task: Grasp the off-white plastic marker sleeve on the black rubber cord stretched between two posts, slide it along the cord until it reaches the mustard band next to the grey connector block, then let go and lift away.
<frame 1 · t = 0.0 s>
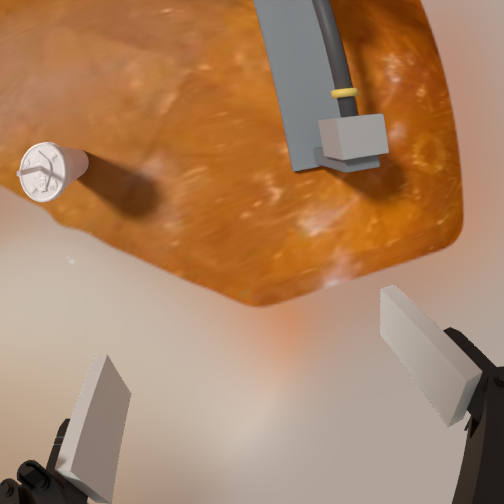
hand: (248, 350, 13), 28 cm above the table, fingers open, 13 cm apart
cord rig: (305, 51, 33), on the table
smoothie: (77, 162, 35), on the table
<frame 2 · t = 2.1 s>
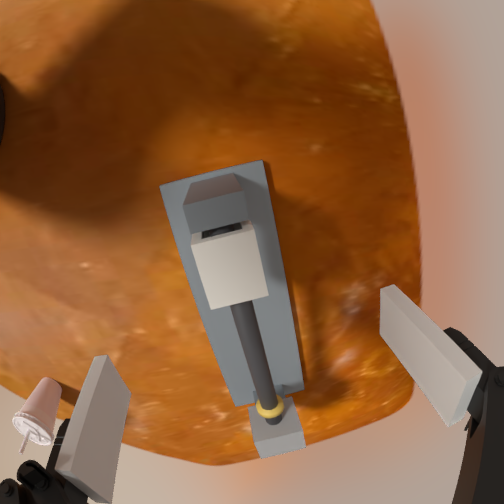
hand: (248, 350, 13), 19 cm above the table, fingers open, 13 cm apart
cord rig: (245, 307, 35), on the table
smoothie: (51, 385, 36), on the table
sleeve: (229, 259, 23), point 9 cm above the table, slide at 0.0 cm
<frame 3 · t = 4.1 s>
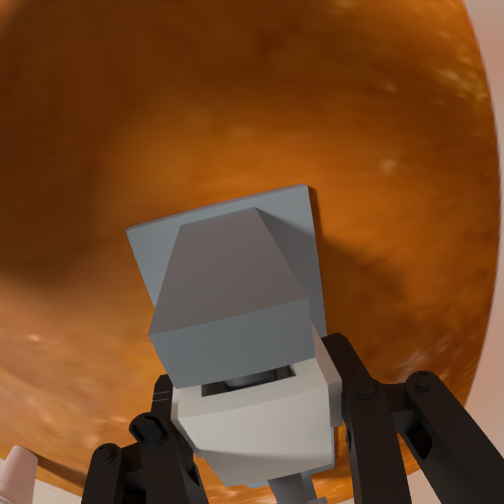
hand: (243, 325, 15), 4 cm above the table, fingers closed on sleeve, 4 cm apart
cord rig: (267, 397, 23), on the table
smoothie: (26, 452, 24), on the table
sleeve: (258, 404, 10), point 9 cm above the table, slide at 0.0 cm, touching gripper
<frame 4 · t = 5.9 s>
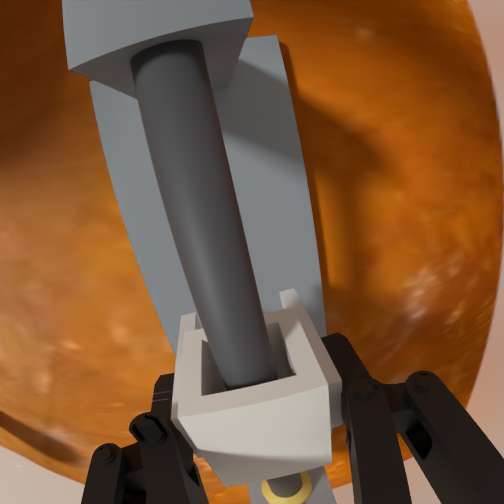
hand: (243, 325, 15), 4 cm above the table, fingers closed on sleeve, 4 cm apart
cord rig: (243, 311, 19), on the table
sleeve: (258, 403, 10), point 9 cm above the table, slide at 8.5 cm, touching gripper
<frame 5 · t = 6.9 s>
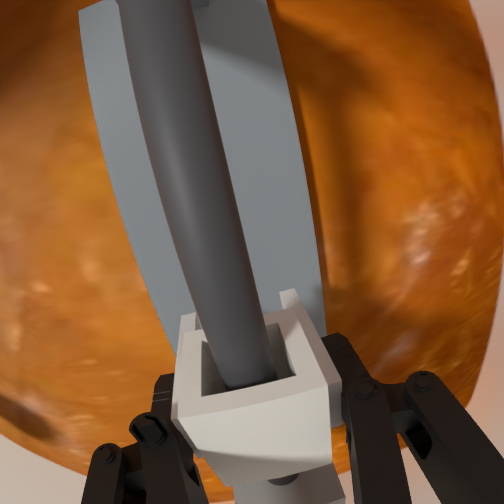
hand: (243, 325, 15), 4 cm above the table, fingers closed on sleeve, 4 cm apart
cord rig: (224, 239, 18), on the table
sleeve: (258, 404, 10), point 9 cm above the table, slide at 13.4 cm, touching gripper
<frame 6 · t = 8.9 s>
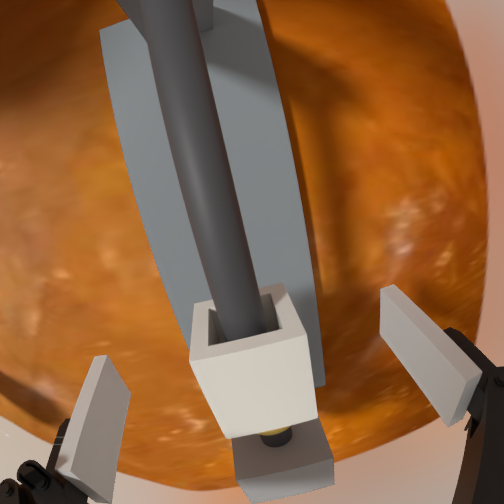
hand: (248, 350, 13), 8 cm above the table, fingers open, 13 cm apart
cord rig: (226, 230, 20), on the table
sleeve: (254, 362, 13), point 9 cm above the table, slide at 13.5 cm
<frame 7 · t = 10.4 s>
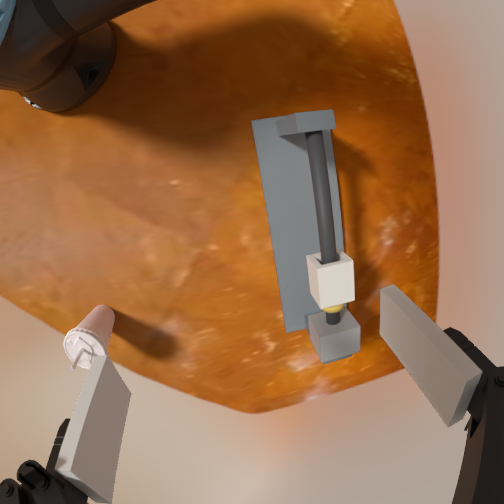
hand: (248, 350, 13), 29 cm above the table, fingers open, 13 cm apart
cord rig: (306, 228, 42), on the table
smoothie: (104, 314, 43), on the table
sleeve: (330, 277, 35), point 9 cm above the table, slide at 13.5 cm
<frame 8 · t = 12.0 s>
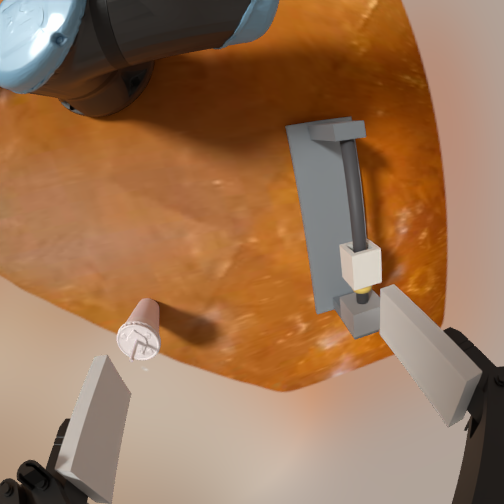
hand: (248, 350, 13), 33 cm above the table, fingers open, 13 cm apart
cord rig: (334, 220, 47), on the table
smoothie: (148, 307, 49), on the table
sleeve: (360, 263, 40), point 9 cm above the table, slide at 13.5 cm
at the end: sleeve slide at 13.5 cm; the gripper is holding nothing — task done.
